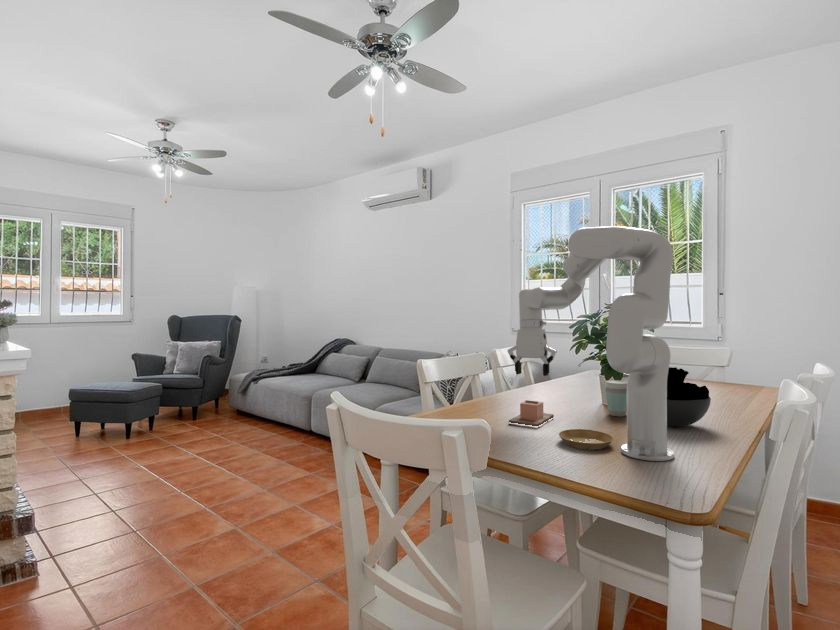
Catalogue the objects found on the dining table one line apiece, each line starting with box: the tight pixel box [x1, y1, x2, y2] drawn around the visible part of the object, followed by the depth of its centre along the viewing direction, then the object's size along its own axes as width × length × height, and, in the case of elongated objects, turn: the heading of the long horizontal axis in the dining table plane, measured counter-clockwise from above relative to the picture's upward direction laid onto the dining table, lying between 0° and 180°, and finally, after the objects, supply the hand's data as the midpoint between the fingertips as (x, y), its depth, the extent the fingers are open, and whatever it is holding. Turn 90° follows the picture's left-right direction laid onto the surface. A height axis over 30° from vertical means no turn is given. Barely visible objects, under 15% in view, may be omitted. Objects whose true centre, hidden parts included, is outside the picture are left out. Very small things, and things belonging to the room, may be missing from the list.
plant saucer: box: [558, 428, 615, 450], centre depth 130 cm, size 15×15×3 cm
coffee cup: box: [604, 379, 627, 417], centre depth 165 cm, size 8×9×12 cm
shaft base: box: [508, 412, 555, 426], centre depth 157 cm, size 16×10×5 cm, turn 145°
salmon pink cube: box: [519, 399, 544, 420], centre depth 157 cm, size 6×6×6 cm
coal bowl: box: [667, 366, 712, 427], centre depth 149 cm, size 20×20×19 cm
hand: (532, 374), depth 156 cm, fingers open, 9 cm apart
